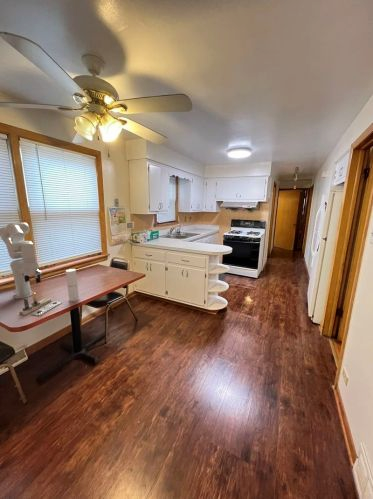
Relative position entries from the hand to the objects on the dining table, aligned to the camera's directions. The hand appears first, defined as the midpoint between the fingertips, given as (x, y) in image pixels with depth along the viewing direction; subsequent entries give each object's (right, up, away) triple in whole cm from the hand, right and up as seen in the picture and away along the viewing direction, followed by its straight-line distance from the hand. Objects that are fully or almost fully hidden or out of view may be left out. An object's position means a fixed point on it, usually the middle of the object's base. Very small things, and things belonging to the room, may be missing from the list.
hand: (33, 282), depth 153 cm
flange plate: (+9, -20, +2) cm, 23 cm away
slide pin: (0, -18, +4) cm, 18 cm away
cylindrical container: (+21, -17, +18) cm, 32 cm away
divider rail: (0, -20, +4) cm, 20 cm away
